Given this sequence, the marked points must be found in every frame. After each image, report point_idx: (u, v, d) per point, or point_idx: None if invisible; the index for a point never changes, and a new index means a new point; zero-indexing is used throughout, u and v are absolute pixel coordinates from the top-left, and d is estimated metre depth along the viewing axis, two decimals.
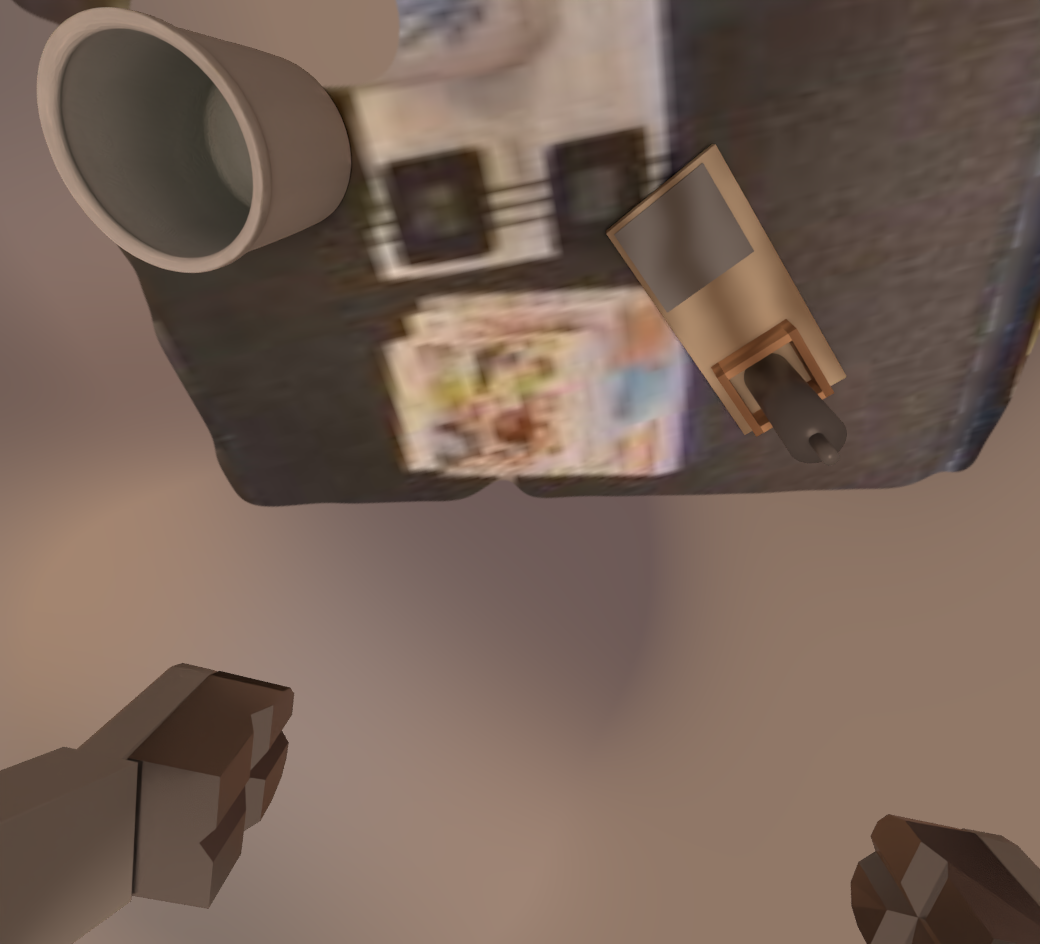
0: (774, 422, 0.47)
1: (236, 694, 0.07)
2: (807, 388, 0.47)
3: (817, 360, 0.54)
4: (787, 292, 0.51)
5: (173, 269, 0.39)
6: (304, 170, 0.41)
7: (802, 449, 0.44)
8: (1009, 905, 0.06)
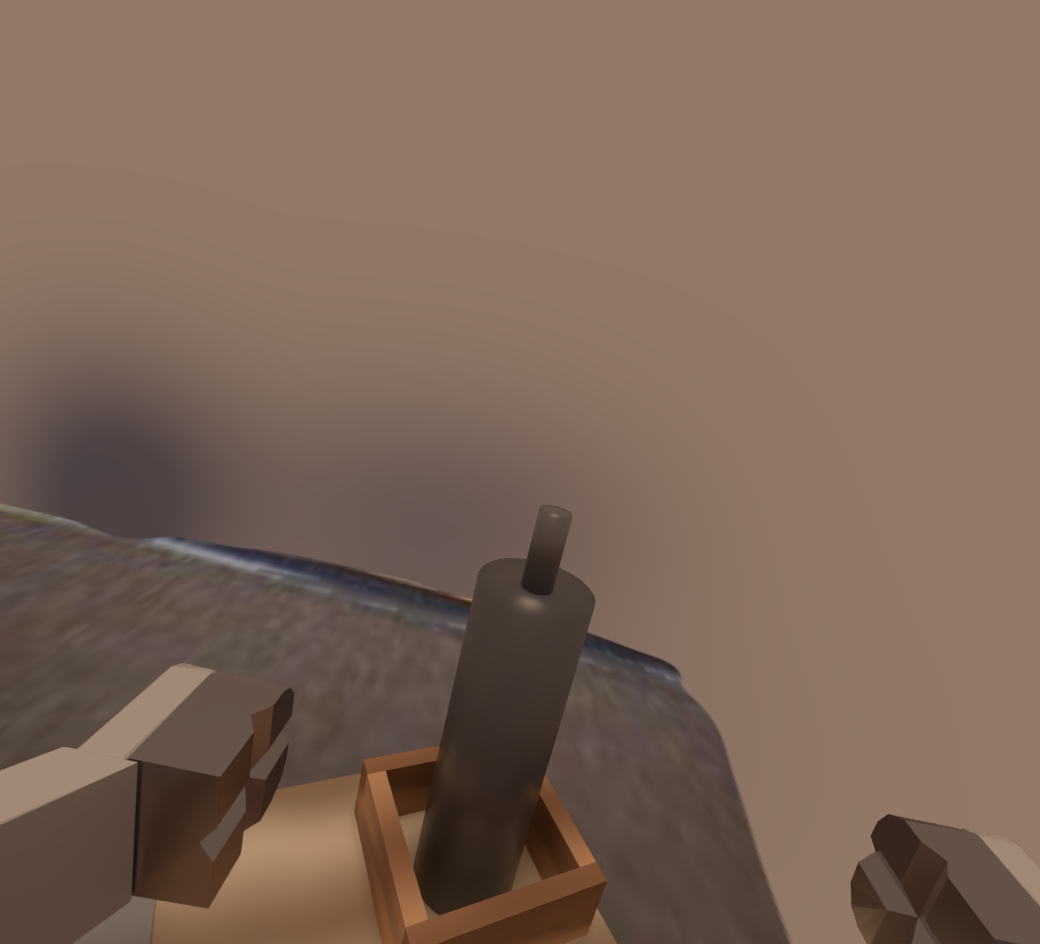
0: (511, 706, 0.19)
1: (236, 694, 0.07)
2: None
3: None
4: (299, 799, 0.25)
5: None
6: None
7: (558, 604, 0.19)
8: (1008, 904, 0.06)
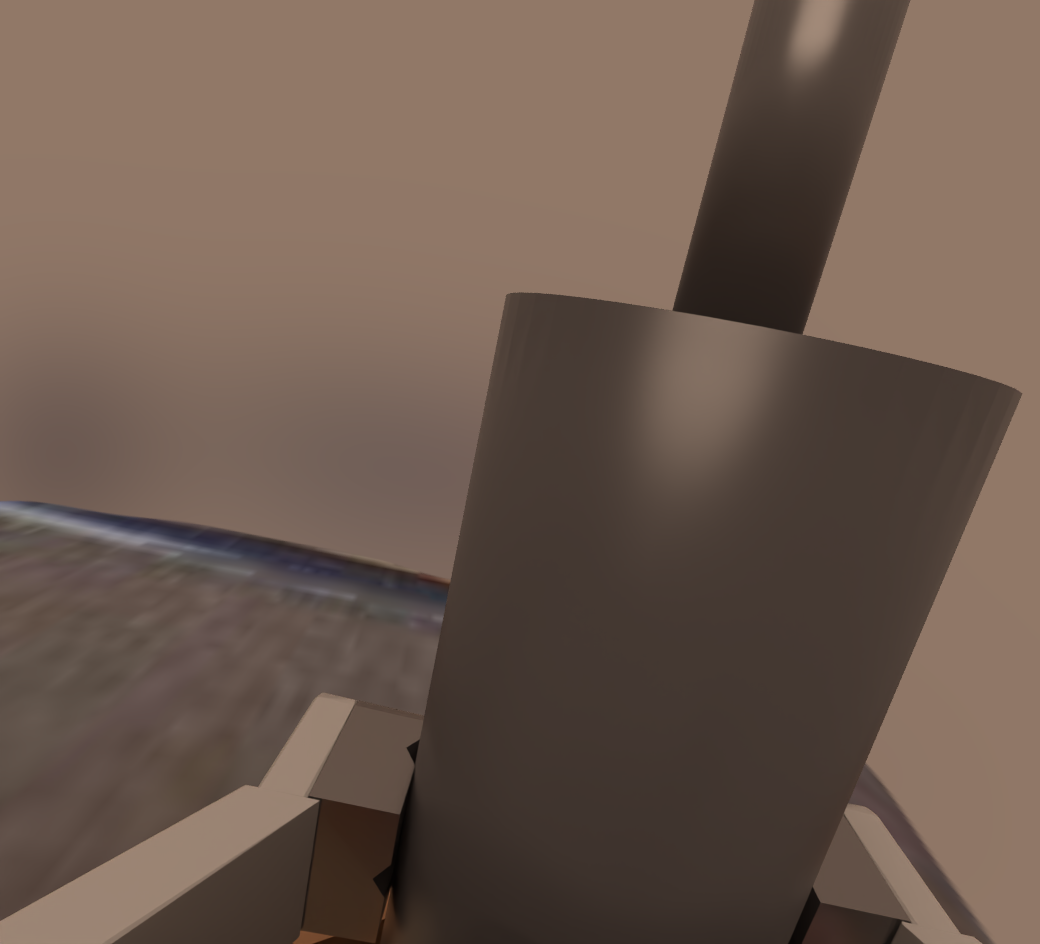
0: (687, 835, 0.04)
1: (385, 725, 0.07)
2: None
3: None
4: None
5: None
6: None
7: None
8: (847, 872, 0.06)
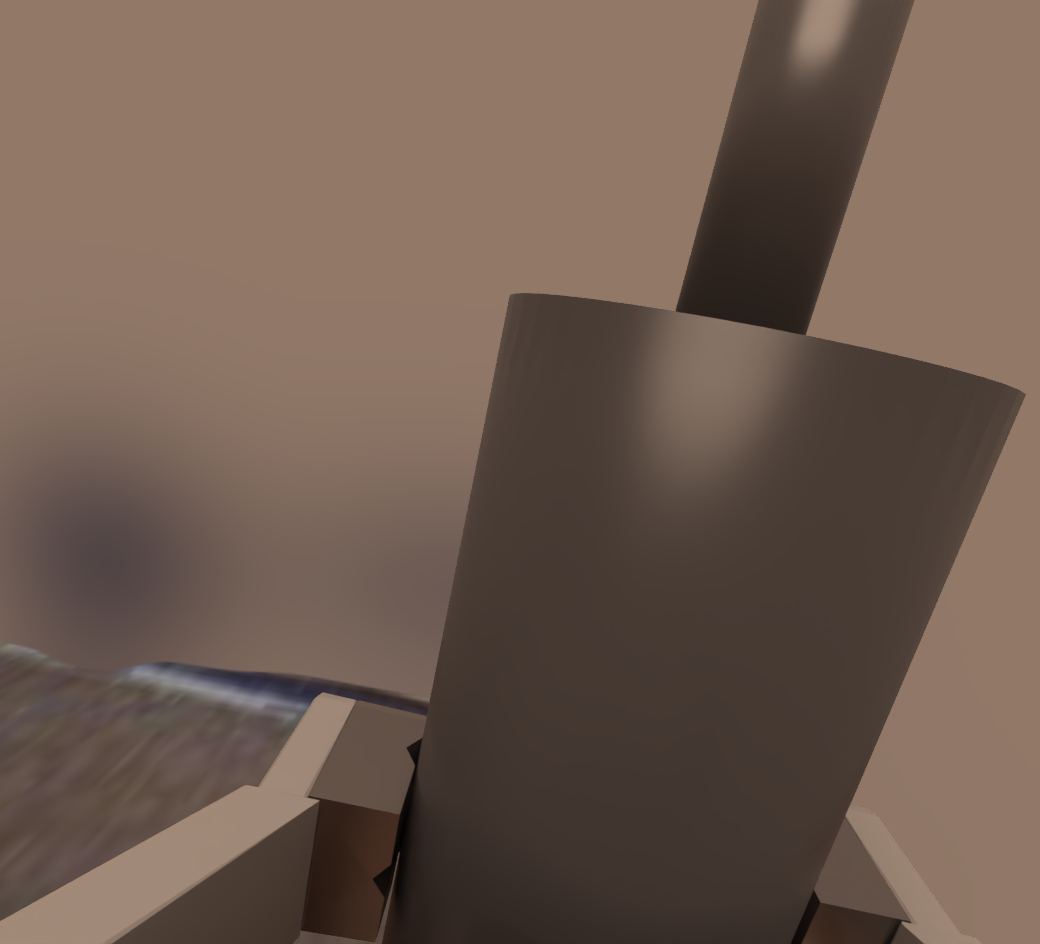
0: (690, 835, 0.04)
1: (385, 725, 0.07)
2: None
3: None
4: None
5: None
6: None
7: None
8: (847, 871, 0.06)
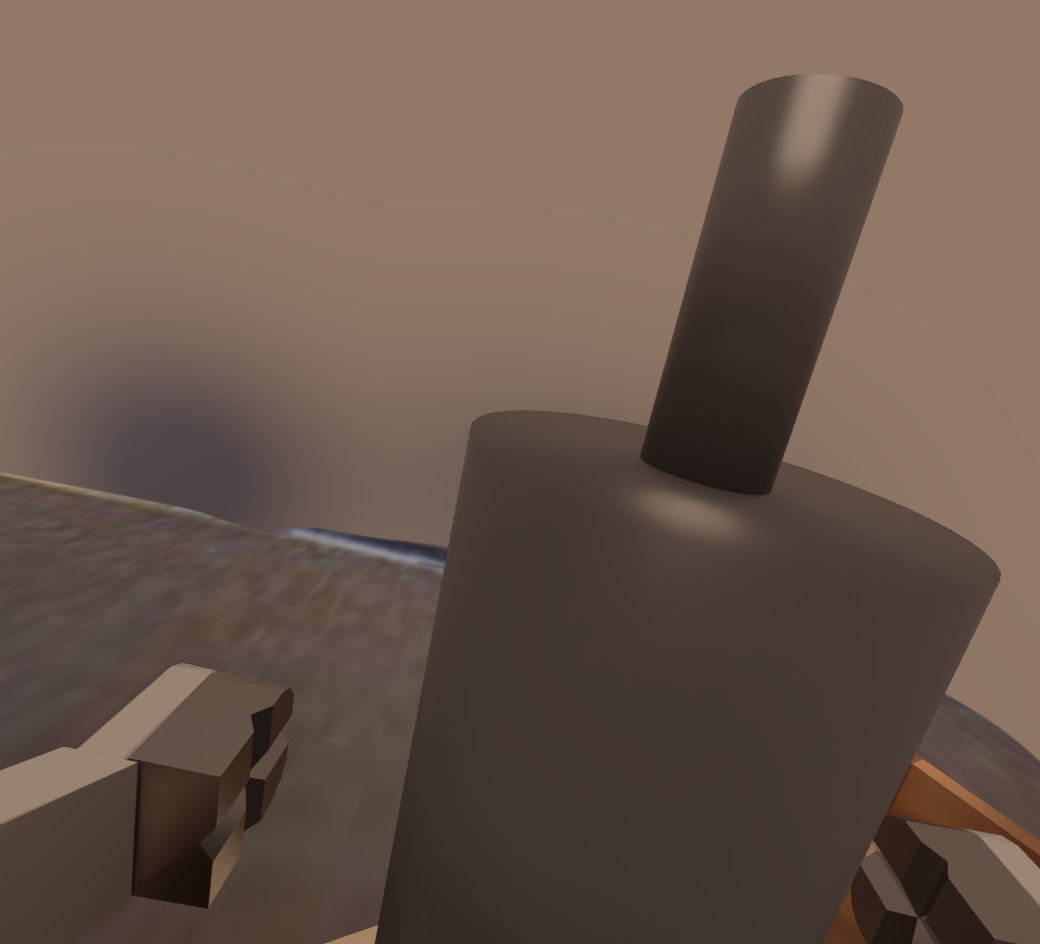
0: None
1: (236, 694, 0.07)
2: None
3: None
4: None
5: None
6: None
7: (844, 527, 0.04)
8: (1008, 904, 0.06)
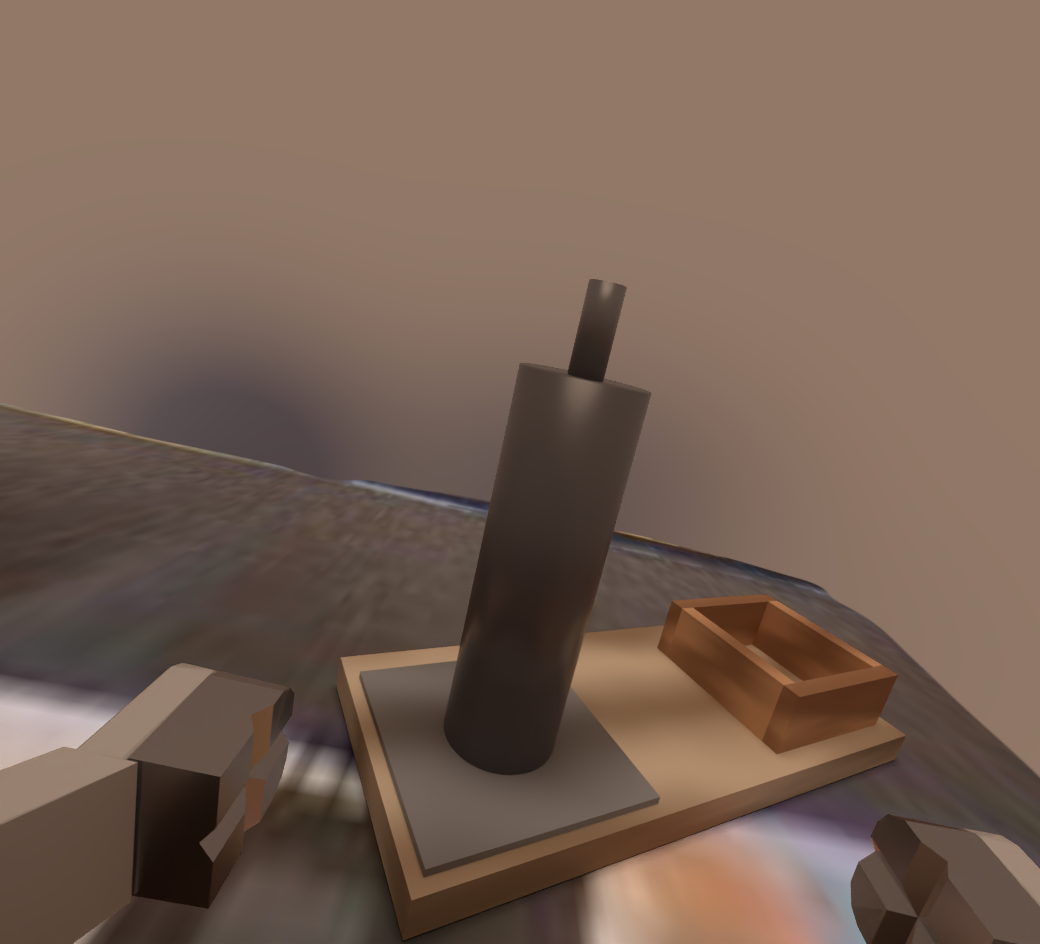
0: (562, 497, 0.17)
1: (236, 694, 0.07)
2: None
3: None
4: (613, 639, 0.31)
5: None
6: None
7: (612, 385, 0.17)
8: (1008, 904, 0.06)
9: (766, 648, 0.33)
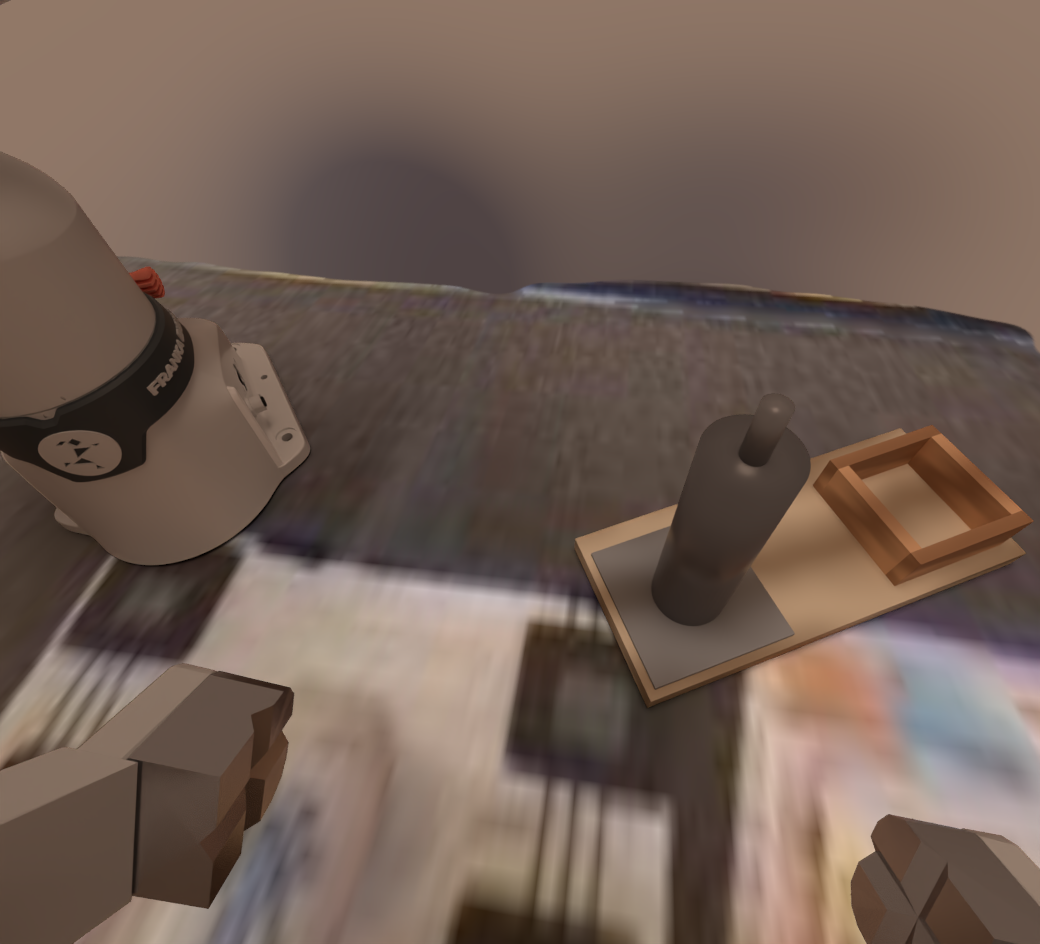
0: (732, 542, 0.24)
1: (236, 694, 0.07)
2: None
3: None
4: None
5: None
6: None
7: (776, 476, 0.22)
8: (1009, 905, 0.06)
9: (919, 470, 0.38)
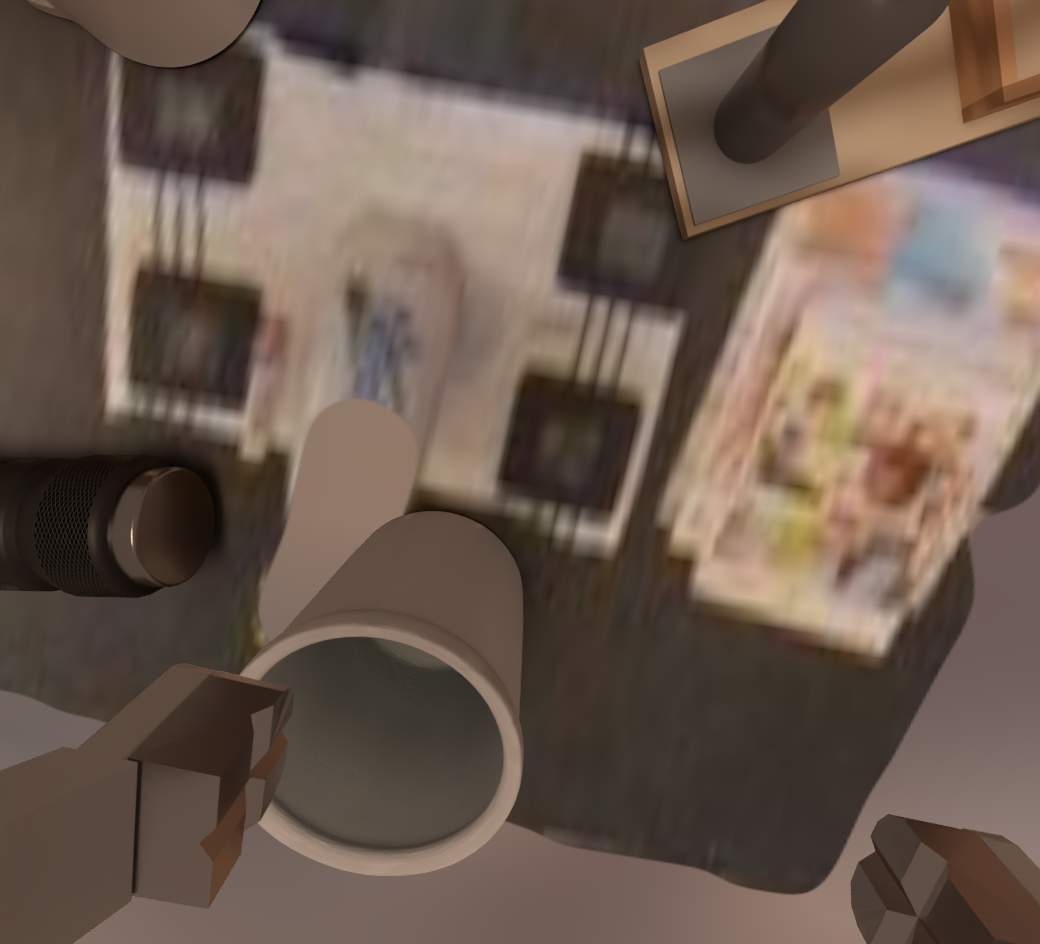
0: (825, 86, 0.23)
1: (236, 694, 0.07)
2: (784, 18, 0.24)
3: None
4: None
5: (497, 827, 0.27)
6: (464, 584, 0.31)
7: (908, 9, 0.20)
8: (1008, 904, 0.06)
9: None
